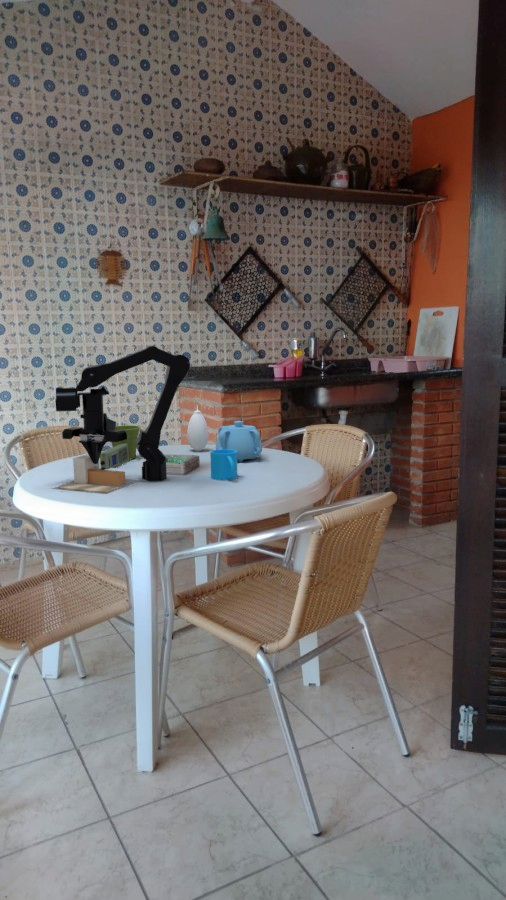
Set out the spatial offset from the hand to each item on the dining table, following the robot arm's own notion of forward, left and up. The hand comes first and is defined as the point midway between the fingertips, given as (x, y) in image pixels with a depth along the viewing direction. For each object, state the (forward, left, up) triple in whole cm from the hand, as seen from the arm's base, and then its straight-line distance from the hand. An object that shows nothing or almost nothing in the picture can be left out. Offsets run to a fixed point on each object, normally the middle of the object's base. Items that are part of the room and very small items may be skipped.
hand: (95, 463), depth 189 cm
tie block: (+3, 0, -6) cm, 7 cm away
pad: (-3, +7, -6) cm, 10 cm away
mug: (-32, -22, -7) cm, 39 cm away
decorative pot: (-23, -53, -7) cm, 58 cm away
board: (-2, +2, -7) cm, 7 cm away
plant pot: (+16, -40, -7) cm, 44 cm away
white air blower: (-2, -63, -7) cm, 63 cm away
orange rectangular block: (-3, 0, -6) cm, 6 cm away
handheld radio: (+11, -24, -7) cm, 27 cm away
